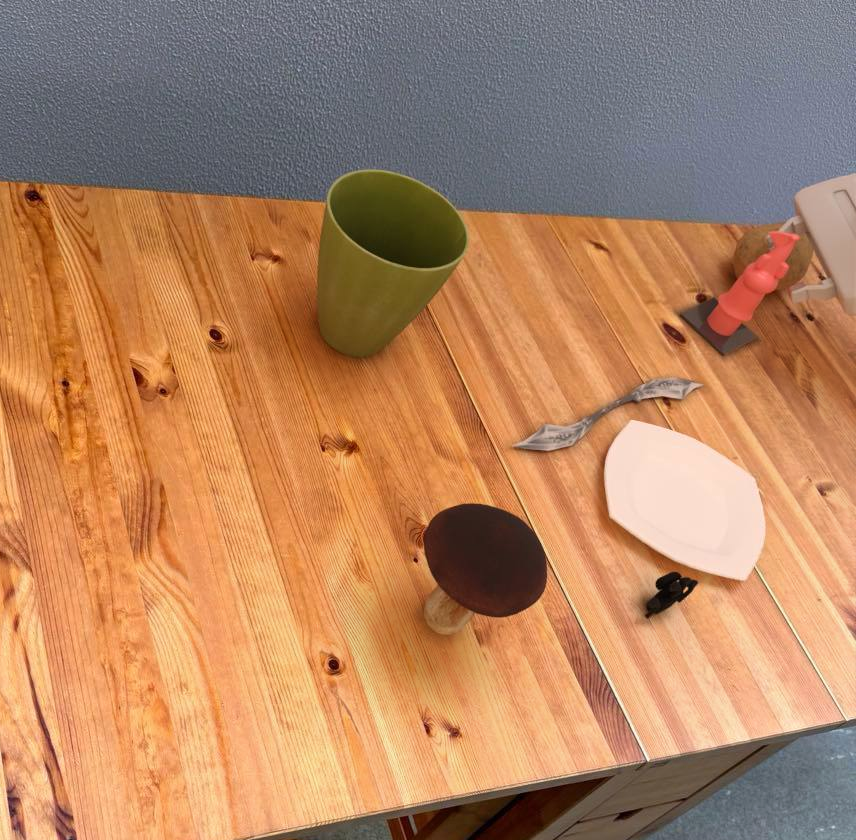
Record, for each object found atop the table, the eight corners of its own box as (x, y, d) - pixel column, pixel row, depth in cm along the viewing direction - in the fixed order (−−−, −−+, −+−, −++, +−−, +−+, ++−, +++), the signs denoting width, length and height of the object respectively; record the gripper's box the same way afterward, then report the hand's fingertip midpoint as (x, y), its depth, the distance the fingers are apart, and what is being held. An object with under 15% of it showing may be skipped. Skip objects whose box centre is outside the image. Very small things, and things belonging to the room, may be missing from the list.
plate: (749, 609, 102) (761, 600, 100) (582, 530, 102) (591, 519, 100) (760, 484, 113) (770, 474, 112) (610, 413, 113) (619, 402, 112)
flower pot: (336, 268, 114) (379, 150, 102) (437, 340, 112) (495, 229, 100) (260, 325, 106) (297, 204, 93) (369, 405, 103) (422, 291, 91)
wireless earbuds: (637, 625, 96) (665, 599, 92) (621, 605, 97) (648, 578, 93) (682, 602, 100) (711, 577, 96) (667, 583, 101) (695, 557, 97)
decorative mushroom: (414, 688, 85) (483, 602, 73) (363, 583, 90) (420, 487, 78) (514, 658, 90) (594, 573, 78) (461, 560, 95) (528, 466, 83)
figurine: (700, 328, 127) (773, 236, 115) (704, 305, 130) (775, 214, 118) (735, 345, 127) (812, 255, 115) (738, 322, 130) (813, 232, 118)
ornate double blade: (704, 388, 120) (677, 361, 122) (707, 385, 120) (679, 358, 122) (536, 476, 104) (506, 443, 106) (538, 472, 103) (508, 439, 105)
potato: (699, 272, 135) (734, 226, 129) (749, 246, 143) (784, 201, 137) (753, 318, 132) (791, 273, 126) (800, 289, 140) (839, 245, 134)
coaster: (755, 339, 130) (757, 337, 130) (723, 356, 126) (725, 354, 125) (712, 299, 132) (714, 297, 132) (679, 314, 128) (680, 312, 128)
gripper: (866, 149, 120) (749, 199, 125) (932, 260, 109) (800, 309, 114) (870, 186, 125) (757, 233, 130) (934, 297, 113) (807, 343, 119)
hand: (778, 269), depth 122 cm, fingers open, 8 cm apart
